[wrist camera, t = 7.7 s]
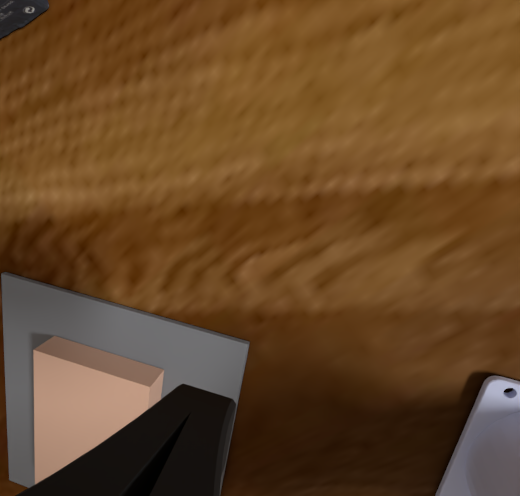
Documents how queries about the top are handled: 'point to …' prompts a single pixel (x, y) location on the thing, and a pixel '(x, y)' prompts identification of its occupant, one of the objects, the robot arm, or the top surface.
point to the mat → (106, 339)
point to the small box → (19, 13)
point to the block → (84, 399)
